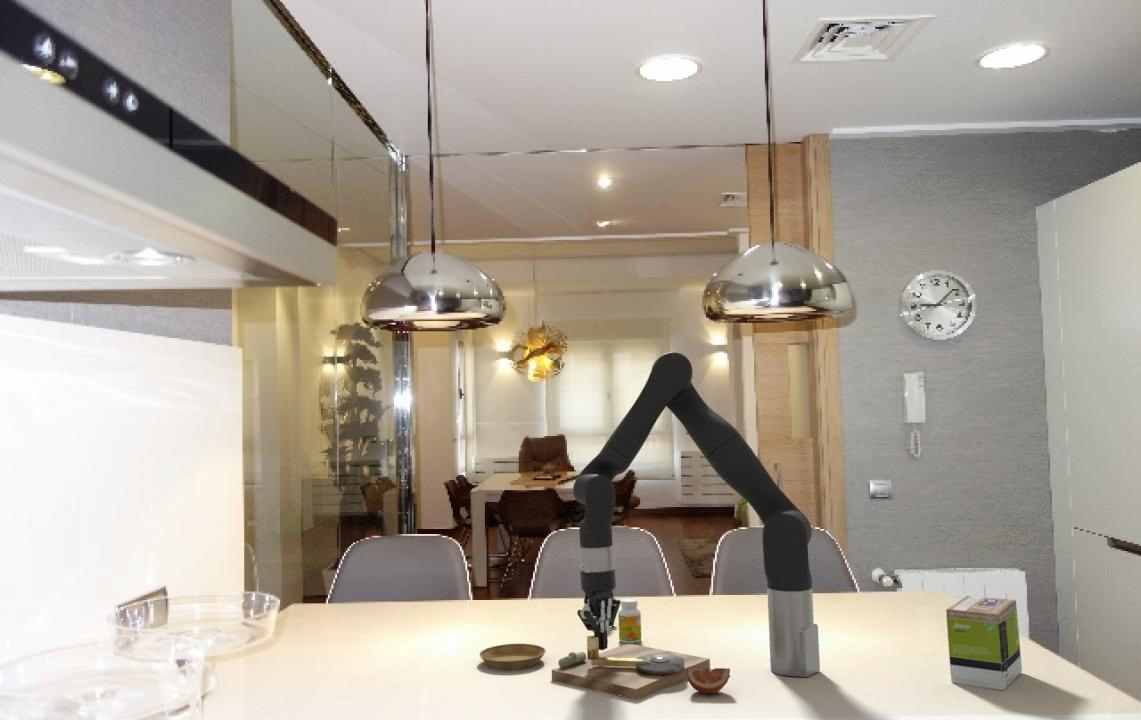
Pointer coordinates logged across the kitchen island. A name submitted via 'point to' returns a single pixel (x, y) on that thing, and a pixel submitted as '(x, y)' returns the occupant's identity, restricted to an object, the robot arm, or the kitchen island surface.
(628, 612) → the supplement bottle
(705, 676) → the fruit slice
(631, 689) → the levelling board
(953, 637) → the tea box
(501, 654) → the plant saucer
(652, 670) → the grey and tan lever
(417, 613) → the kitchen island surface
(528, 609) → the kitchen island surface
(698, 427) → the robot arm
